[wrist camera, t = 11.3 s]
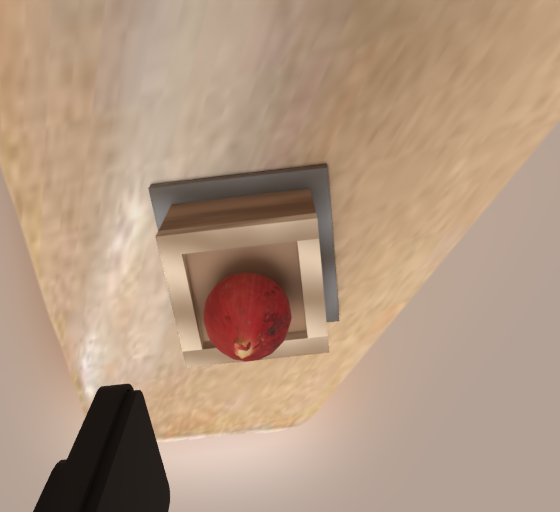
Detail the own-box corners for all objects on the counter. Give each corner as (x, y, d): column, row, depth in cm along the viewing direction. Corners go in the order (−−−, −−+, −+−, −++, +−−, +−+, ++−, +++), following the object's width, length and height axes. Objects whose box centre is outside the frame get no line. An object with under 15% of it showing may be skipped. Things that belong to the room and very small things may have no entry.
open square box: (151, 184, 42) (128, 218, 35) (326, 163, 41) (338, 194, 34) (184, 331, 48) (170, 385, 41) (337, 314, 47) (349, 366, 40)
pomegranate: (281, 247, 37) (285, 305, 30) (294, 315, 40) (301, 384, 32) (201, 261, 37) (185, 321, 30) (219, 328, 40) (208, 398, 33)
